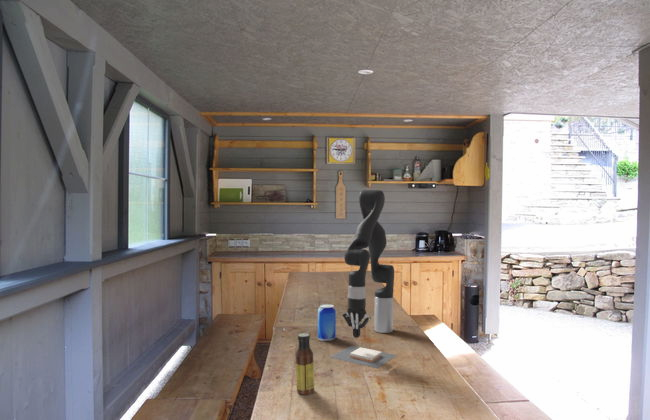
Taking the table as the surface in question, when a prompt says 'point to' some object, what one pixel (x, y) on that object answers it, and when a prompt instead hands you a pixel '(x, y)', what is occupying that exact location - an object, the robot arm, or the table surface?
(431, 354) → the table surface
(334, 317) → the beer can
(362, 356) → the tile
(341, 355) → the mat
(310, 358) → the sauce bottle
